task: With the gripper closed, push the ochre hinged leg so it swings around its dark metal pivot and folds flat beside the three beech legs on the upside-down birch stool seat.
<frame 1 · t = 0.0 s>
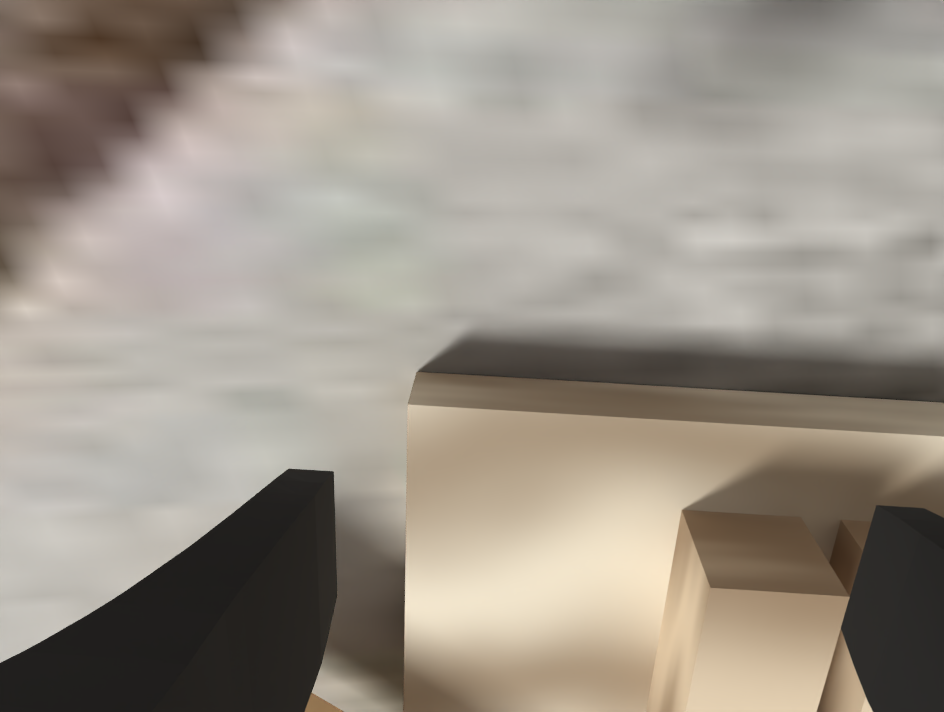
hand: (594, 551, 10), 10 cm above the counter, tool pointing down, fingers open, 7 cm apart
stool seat: (718, 656, 24), on the counter
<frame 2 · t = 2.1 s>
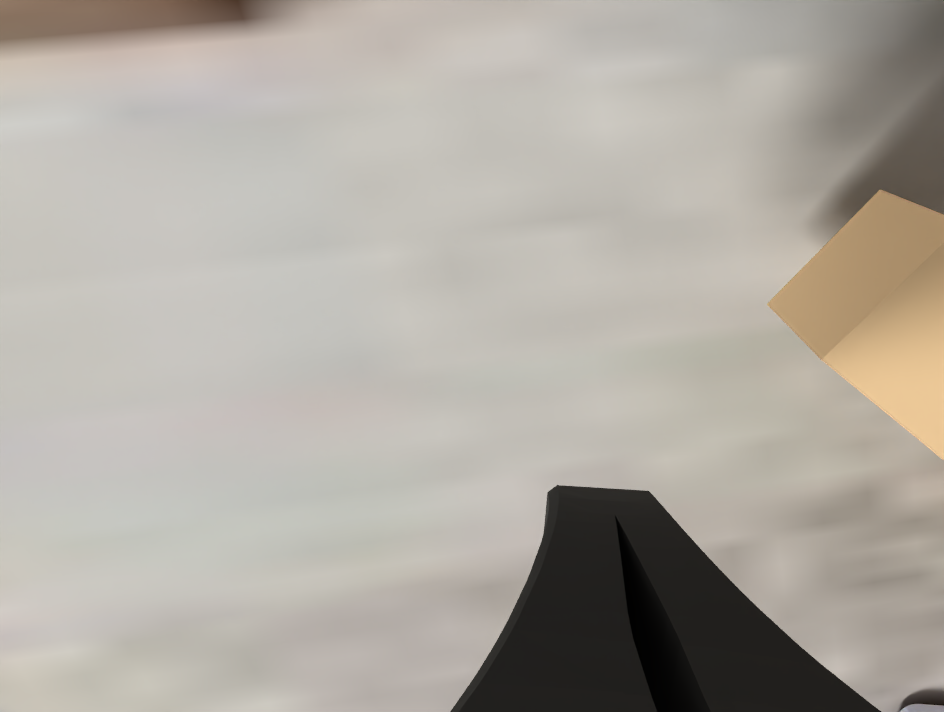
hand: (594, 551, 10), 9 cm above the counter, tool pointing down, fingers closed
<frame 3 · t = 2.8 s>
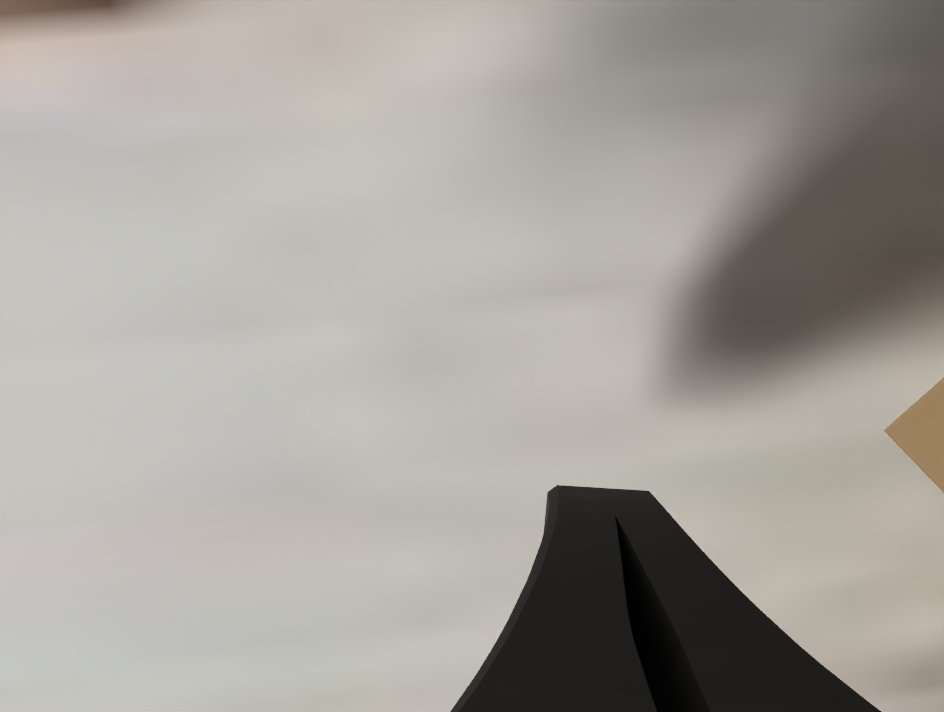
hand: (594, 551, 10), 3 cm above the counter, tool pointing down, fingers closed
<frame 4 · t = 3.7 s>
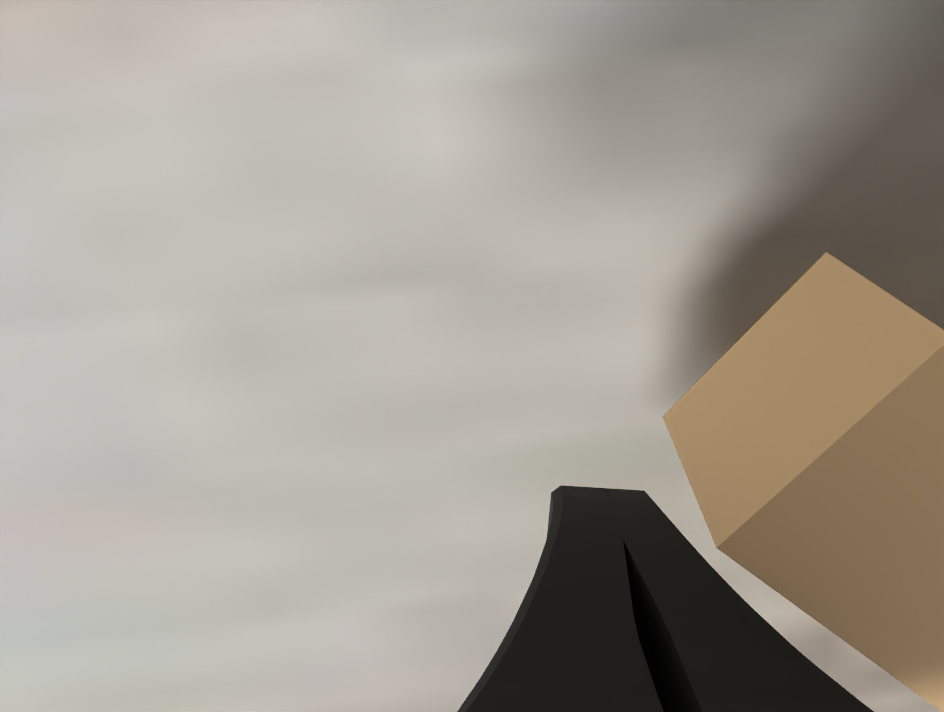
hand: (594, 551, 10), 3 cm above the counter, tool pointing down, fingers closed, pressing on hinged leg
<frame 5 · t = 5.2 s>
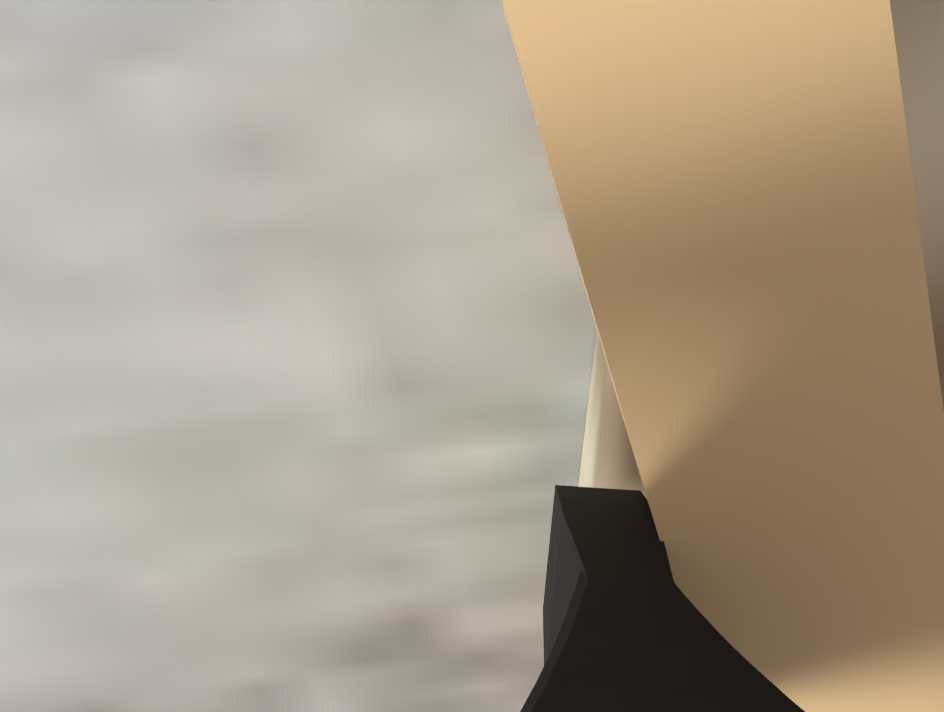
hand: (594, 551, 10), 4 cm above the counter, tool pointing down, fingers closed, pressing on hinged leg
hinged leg: (791, 573, 10), point 4 cm above the counter, hinge at 21.4°, touching gripper
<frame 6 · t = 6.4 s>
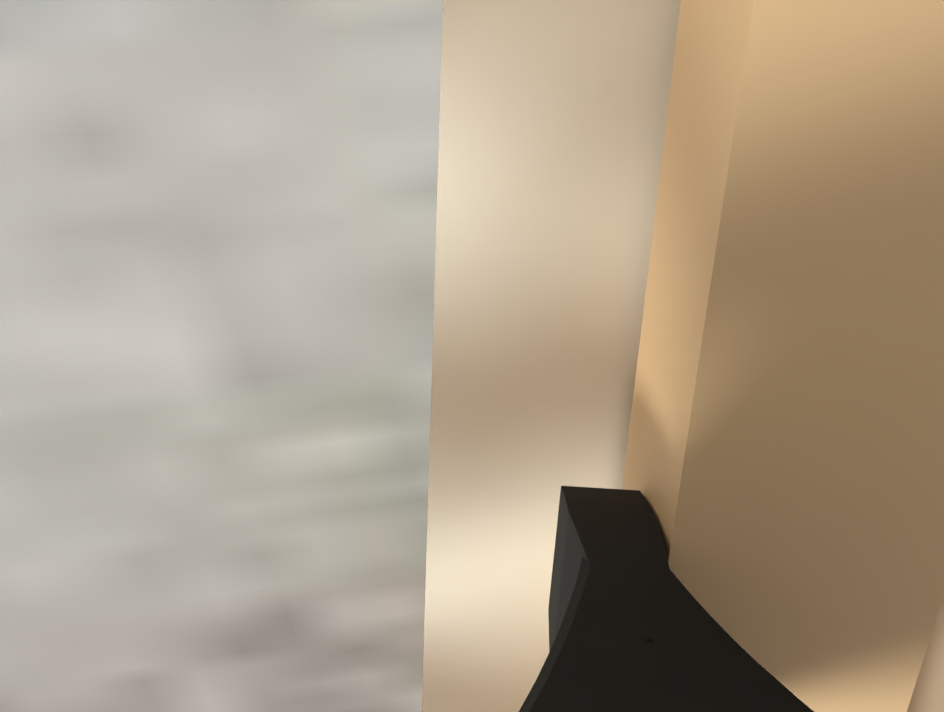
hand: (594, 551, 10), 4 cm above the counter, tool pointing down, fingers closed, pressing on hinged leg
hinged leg: (762, 541, 10), point 4 cm above the counter, hinge at 0.8°, touching gripper
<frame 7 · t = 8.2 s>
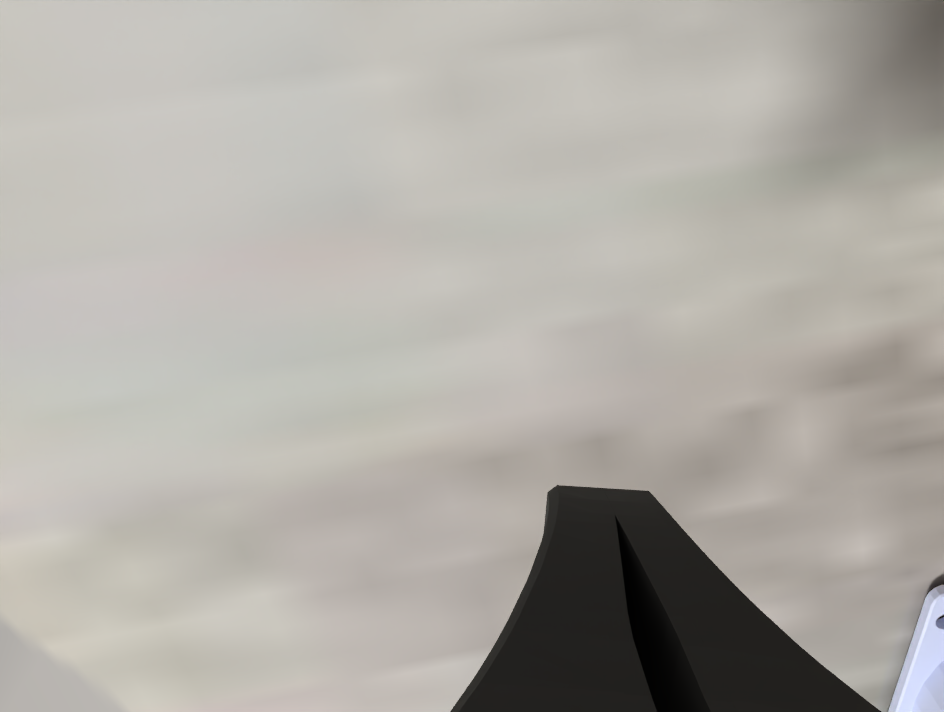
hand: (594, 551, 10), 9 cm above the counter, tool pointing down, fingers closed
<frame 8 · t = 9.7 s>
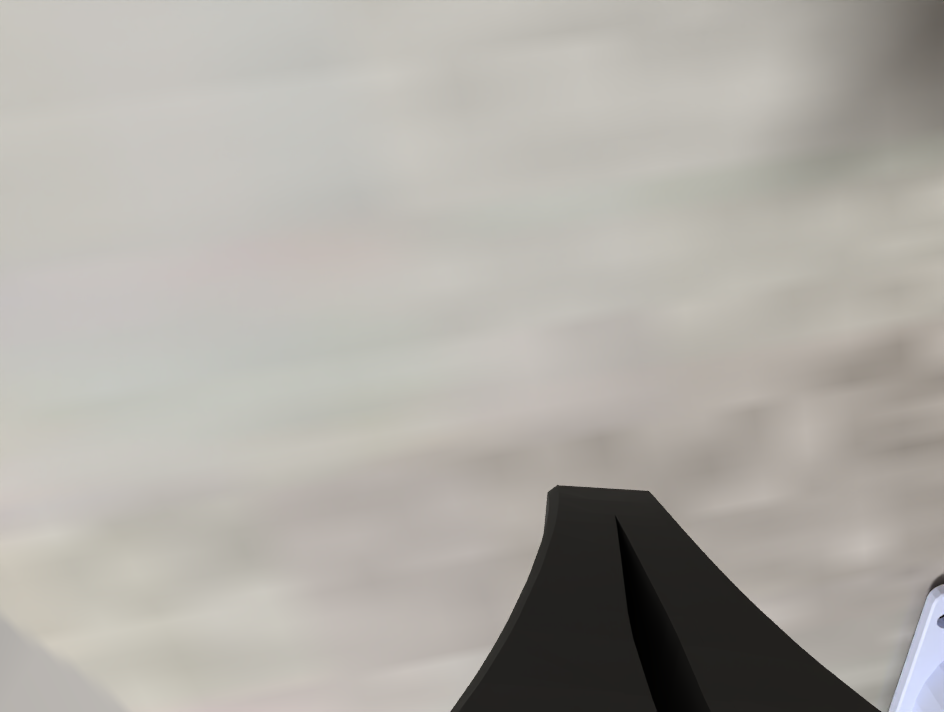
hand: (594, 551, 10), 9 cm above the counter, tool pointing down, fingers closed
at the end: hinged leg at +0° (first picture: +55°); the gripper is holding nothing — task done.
